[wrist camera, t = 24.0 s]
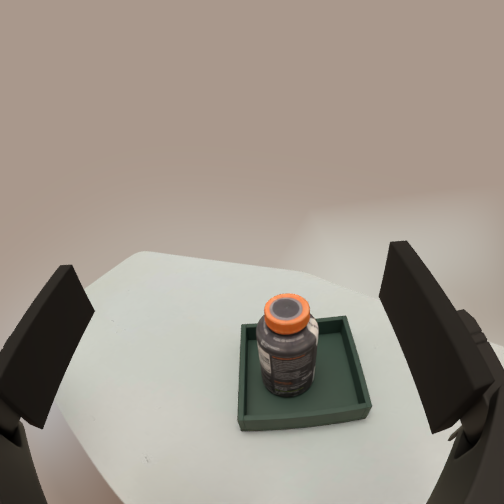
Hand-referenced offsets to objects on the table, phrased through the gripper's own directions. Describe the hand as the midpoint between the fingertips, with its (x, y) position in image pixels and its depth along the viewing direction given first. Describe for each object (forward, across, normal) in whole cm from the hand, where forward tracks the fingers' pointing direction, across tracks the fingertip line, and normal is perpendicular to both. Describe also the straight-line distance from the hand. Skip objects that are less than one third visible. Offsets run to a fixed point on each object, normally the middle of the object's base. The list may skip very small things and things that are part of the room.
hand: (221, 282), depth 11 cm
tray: (+10, +5, -23) cm, 25 cm away
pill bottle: (+10, +3, -22) cm, 24 cm away
